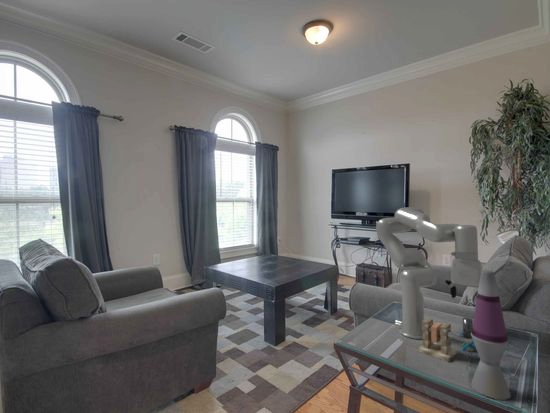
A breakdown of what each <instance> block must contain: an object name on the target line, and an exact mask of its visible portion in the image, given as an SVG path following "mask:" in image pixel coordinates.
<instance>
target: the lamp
mask: <svg viewBox="0 0 550 413" xmlns="http://www.w3.org/2000/svg"><path fill="white" fill-rule="evenodd" d="M501 304H502V303H501V300H500V293H499V289H498V283H497V278H496V275H495V272H494V271H493V270H489V269H482V271H481V276H480V282H479V287H477V296H476V304H475V308H474V309H475V310H474V315H473V316H474V317H473V327H472V332H471V336H472V340H473V341H474V344H475V347H476V348H475V347H474V348H475V350H476V349H477V350H476V351H477V354H478V356H479V359H480V360H479V362H478V365H477V367H476V370H475V372H474V375H473V377H472V379H471V383H470V384H471V385H470V386H471V387H472V389H473V388H474V389H475V390H474V389H473V390H474V391H475V392H477V391H478V392H479V393H478V392H477V393H478V394H480V393H481V394H480V395H482V394H484V395H486V396H489V397H491V398H490V399H492V398H494V400H497V399H498V401H499V400H500V401H506V400H509V399H510V398H511V396H512V395H511V391H510V389H509V386H508V384H507V381H506V379H505V376H504V373H503V371H502V367H501V364H500V363H501V361H502V358H503V356H504V354H505V351H506V349H507V347H508V345H509V342H510V341H509V339H508V335H507V330H506V329H507V328H506V324H505V320H504V313H503V309H502V305H501ZM484 395H483V396H484ZM486 396H485V397H486ZM489 397H488V398H489Z"/></svg>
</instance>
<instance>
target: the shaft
mask: <svg viewBox="0 0 550 413" xmlns="http://www.w3.org/2000/svg"><path fill="white" fill-rule="evenodd" d="M473 321H474V319H472V318H470V317H462V332H463V335H462V334H461V333H460V334H459V333H456V332H452V331H451V332H449V331H447V337H448V338H451V340H452V339H453V340H456V341H459V342H462V343H464V342H466V344H467V343H469V344H471V343H472V340H473V339H472V336H471V332H472V327H473ZM422 330H423V325H422ZM429 332H431V326H429ZM438 335H440V329H438Z"/></svg>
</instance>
